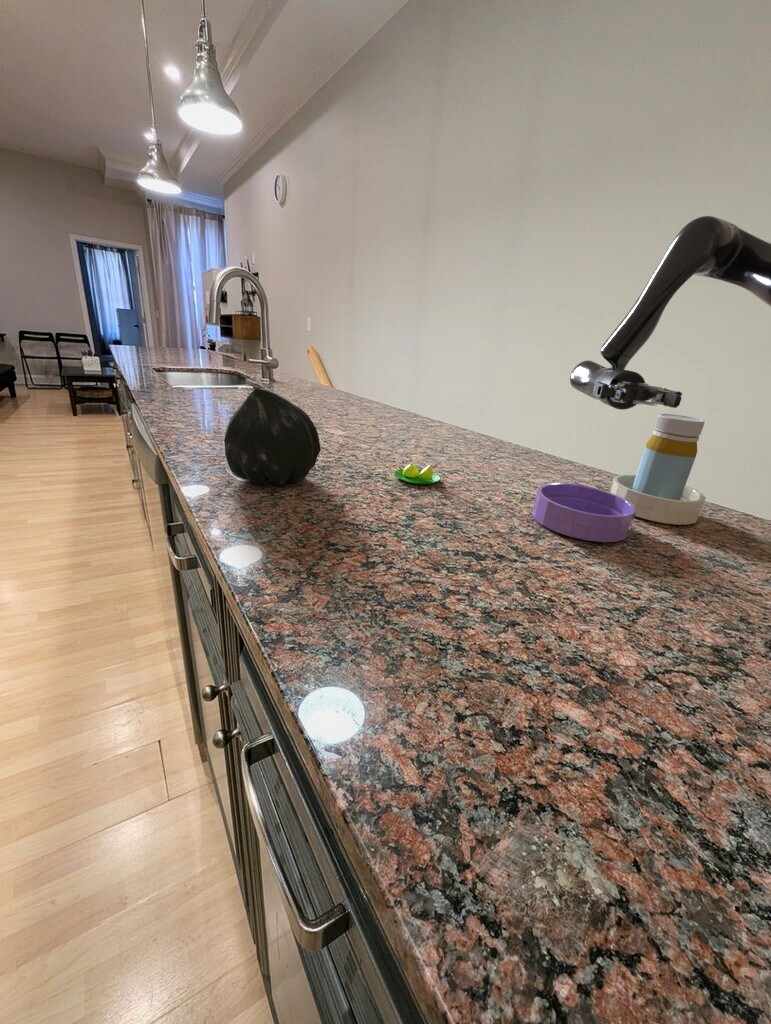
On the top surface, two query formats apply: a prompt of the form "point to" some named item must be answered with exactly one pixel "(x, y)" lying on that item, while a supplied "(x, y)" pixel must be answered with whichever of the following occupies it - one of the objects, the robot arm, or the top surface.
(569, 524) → the lavender bowl
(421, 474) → the plate of pears
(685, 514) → the cream bowl
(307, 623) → the top surface
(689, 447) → the bottle
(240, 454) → the squash
